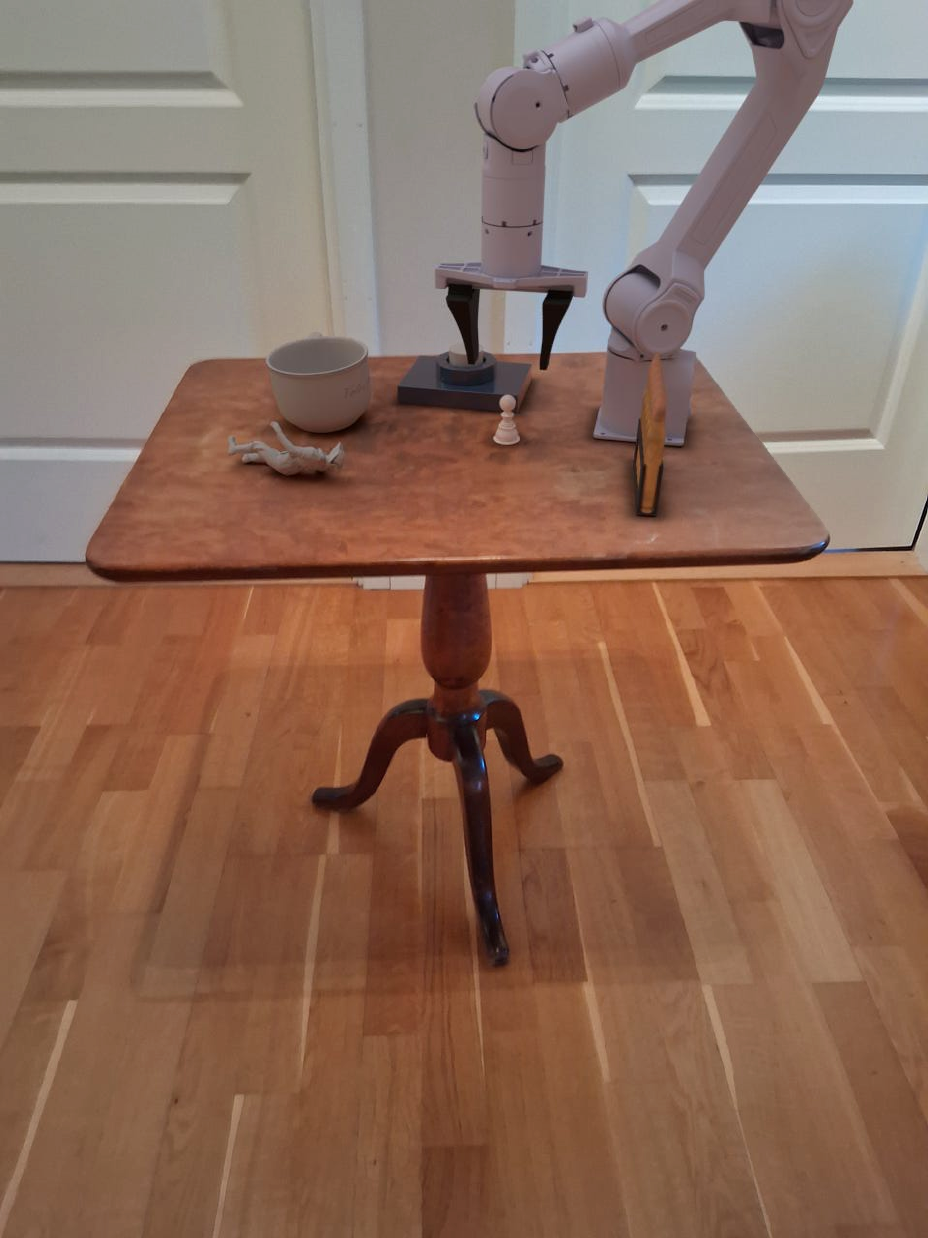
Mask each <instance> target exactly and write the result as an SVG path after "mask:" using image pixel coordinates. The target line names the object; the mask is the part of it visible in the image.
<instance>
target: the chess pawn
mask: <svg viewBox="0 0 928 1238" xmlns="http://www.w3.org/2000/svg"><path fill="white" fill-rule="evenodd" d="M499 405H500V407H501V409H502V410H504V412H500V417H502V419H501V420H500V422H499V423H498V427H497V429H496V431H495V433H494V436H493V438H492V439H493V441H494V442H495V443H497V444H498V445H501V446H513V445H516V444H517V443H519V442H520V441H521V438H520V437H521V436H520V435H519V432H518V430H517V428H516V424H515V422H514V420H513V418H514V416H515V413H512V412H511V411H512V410H513V409H514V408H515V405H516V401H515V398H514V397H513V396H511V395H504V396H503V397H502V398H501V399H500V402H499Z"/></svg>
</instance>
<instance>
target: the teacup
mask: <svg viewBox="0 0 928 1238" xmlns="http://www.w3.org/2000/svg"><path fill="white" fill-rule="evenodd" d="M265 365H266V367H267V369H268V370H267V371H268V374H269V380H270V384H271V388H272V389H271V390H272V394H273V396H274V401H275V404H276V407H277V409H278V411H279V413H280V414H281V416H282V417H283V418H284V419H285V420H286V421H287V422H289V423H290V424H292V425H294V426H295V427H297V428H299V429H300V430H303V431H305V432H309V433H317V434H321V433H323V434H326V433H333V432H338V431H342V430H344V429H346V428H349V427H350V426H352V425H353V424H354V423H356V421H357V420H358V419H359V418H360V417H361V416H362V415H363V414H364V413H365V412H366V410H367V409H368V407H369V405H370V402H371V394H372V391H371V390H372V388H371V376H370V374H371V373H370V365H369V348H368V346H367V345H366V344H365V343H364V342H362V341H361V340H359V339H356V338H352V337H347V336H340V335H338V336H336V335H326V336H325V335H323V334H322V333H321V332H318V331H316V332H310V333H309V334H308V337H306V338H301V339H296V340H292V341H290V342H289V341H288V342H286V343H284V344H282V345H280V346H278V347H276V348H274V349H273V350H272V351H270V352H269V354H267V356H266V358H265Z"/></svg>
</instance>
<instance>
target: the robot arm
mask: <svg viewBox="0 0 928 1238" xmlns="http://www.w3.org/2000/svg"><path fill="white" fill-rule="evenodd" d="M853 5H854V0H658V1H656V2H655V3H653V4H651V5H650V6H648V7H647V8H645V9H643V10H642V11H640V12H639V13H636V14H635V15H634V16H632V17H630V18H629V19H627V20H626V21H624V22H622V23H621V24H620V23H617V22H615V21H613V20H612V19H609V18H608V17H605V16H600V17H598V18H596V19H594V20H593V19H592V17H590V16H583V17H581V18H579V19H577V20H576V21H574V22H573V23H572V28H573V32H571V33H570V34H568V35H565V36H564V37H562V38H560V39H558V40H557V41H555V42H553V43H552V44H550V45H548V46H547V47H545V48H543V49H541V50H539V51H537V50H536V48H530V49H528V50H527V51H525V52H523V53H522V60H523V63H522V68H520V67H518V66H511V65H508V66H502V67H499V68H498V69H495V70H494V71H492V72H491V73H490V74H489V75H487V77H486V78H485V80H484V83H483V84H482V85H481V87H480V89H479V92H478V96H477V101H475V103H473V110H474V115H475V120H476V121H477V124H478V126H479V127H480V129H481V130H482V131H483V136H482V137H483V140H482V141H483V144H482V145H483V146H482V164H481V212H480V213H481V218H480V219H481V226H480V227H481V229H480V230H481V232H480V233H481V234H480V237H481V241H480V245H481V246H480V247H481V249H480V250H481V251H480V258H481V259H480V262H477V261H476V262H439V263H438V264H437V266H436V267H435V268H434V288H435V289H438V290H446V289H447V295H446V296H445V303H446V306H447V308H448V309H449V311H450V313H451V315H452V317H453V319H454V321H455V323H456V325H457V328H458V330H459V333H460V336H461V339H462V342H464V346H465V350H466V355H467V361H468V364H471V365H475V363H476V361H477V359H478V356H479V344H480V340H479V339H480V337H479V311H480V310H479V309H480V296H481V290H487V291H488V290H489V291H501V292H502V291H505V292H520V293H521V292H522V293H536V294H537V293H538V294H546V296H545V297H544V299H543V301H542V303H541V304H542V305H541V313H542V314H541V315H542V317H541V318H542V320H541V321H542V322H541V323H542V324H541V325H542V326H541V327H542V328H541V329H542V331H541V334H542V335H541V346H540V354H539V370H540V371H547V370H548V368H549V365H550V360H551V354H552V350H553V346H554V342H555V338H556V336H557V334H558V331H559V327H560V326H561V324H562V322H563V320H564V318H565V316H566V314H567V312H568V310H569V308H570V307H571V303H572V301H573V298H583V299H584V298H585V297H586V295H587V292H588V281H589V271H588V270H576V269H569V268H563V267H557V266H551V265H544V264H542V259H543V239H544V238H543V235H544V216H545V215H544V212H545V191H546V169H547V167H546V152H547V151H546V150H547V141H548V140H549V139H550V138H551V136H552V135H553V134H554V131H555V129H556V128H557V125H558V124H562V123H564V122H567V121H568V120H570V119H572V118H573V117H575V116H577V115H579V114H580V113H583V112H584V111H587V110H588V109H590V108H592V107H593V106H595V105H597V104H598V103H601V102H602V101H604V100H606V99H607V98H609V97H612V96H613V95H615V94H617V93H619V92H620V91H621V90H624V89H626V87H627V86H628V85H629V82H630V80H631V77H632V75H633V72H634V71H635V69H636V66H637V65H638V64H639V63H641V62H643V61H645V60H647V59H649V58H651V57H653V56H655V55H657V54H659V53H661V52H663V51H664V50H667V49H669V48H671V47H673V46H674V45H677V44H679V43H681V42H683V41H685V40H688V39H689V38H691V37H693V36H695V35H698V34H699V33H701V32H703V31H705V30H707V29H709V28H711V27H714V26H715V25H717V24H719V23H721V22H738V25H739V27H740V29H741V31H742V33H743V35H744V38H745V39H746V41H747V43H748V45H749V47H750V49H751V52H752V58H753V59H752V60H753V65H754V70H755V77H756V78H755V83H754V84H753V86H752V88H751V90H750V91H749V92H748V94H747V96H746V97H745V99H744V101H743V102H742V104H741V106H740V107H739V109H738V110H737V112H736V114H735V116H734V117H733V118H732V120H731V122H730V124H728V127H727V128H726V130H725V132H724V133H723V135H722V136H721V138H720V140H719V141H718V142H717V145H716V146H715V147H714V149H713V151H712V153H711V154H710V156H709V158H707V161H706V162H705V164H704V165H703V167H702V169H701V171H700V172H699V174H698V175H697V177H696V178H695V180H694V182H693V183H692V185H691V186H690V188H689V190H688V191H687V193H686V195H685V196H684V198H683V200H682V202H681V203H680V204H679V206H678V208H677V209H676V211H675V213H674V214H673V216H672V218H671V219H670V221H669V223H668V224H667V226H666V227H665V229H664V230H663V232H662V234H661V235H660V237H659V238H658V240H657V241H656V242H654V243H653V244H651V245H649V246H647V247H646V248H644V249H642V250H641V251H639V252H638V253H637V254H636V255H635V257H634V259H633V260H632V262H631V263H630V265H629V266H627V268H626V269H625V270H623V271H622V272H621V273H619V274H618V275H616V276H615V277H614V278H613V279H612V280H611V282H610V283H609V284H608V285H607V286H606V289H605V290H604V293H603V297H602V305H601V306H602V313H603V315H604V318H605V319H606V322H607V323H608V324H609V325H610V334H609V336H608V339H607V347H606V354H605V355H606V356H605V367H604V369H605V370H604V376H603V377H604V378H603V379H604V380H603V389H602V399H601V400H602V401H601V406H600V407H599V408H598V412H597V418H596V422H595V426H594V430H593V438H594V439H598V440H607V441H608V440H610V441H619V442H633V443H636V437H637V429H638V422H639V418H641V411H642V403H643V396H644V393H645V390H646V385H647V381H648V374H649V369H650V365H651V362H652V360H653V357H654V355H655V354H656V352H659V354H660V358H661V365H662V372H663V379H664V386H665V393H666V401H667V410H666V419H665V420H666V423H665V445H664V446H677V447H682V446H683V445H684V444H685V436H686V430H687V424H688V422H690V420H691V414H692V407H693V406H692V405H693V404H692V403H691V399H692V398H691V397H692V392H693V384H694V377H695V370H696V361H697V351H695V350H689V349H684V348H682V347H683V346H684V344H686V342H687V341H688V339H689V338H690V335H691V333H692V331H693V330H692V329H693V325H694V322H695V321H694V320H695V316H696V313H697V312H698V309H699V308H700V306H701V305H702V302H703V301H704V300H705V297H706V290H705V288H706V287H705V286H706V285H705V270H707V269H706V268H707V267H708V265H709V264H710V262H711V261H712V259H713V258H714V256H715V255H716V253H717V252H718V250H719V249H720V247H721V246H722V244H723V242H724V241H725V239H726V238H727V236H728V235H729V233H730V232H731V230H732V228H733V227H734V225H736V222H737V221H738V220H739V218H740V216H741V214H742V213H743V211H744V210H745V208H746V207H747V206H748V204H749V202H750V201H751V199H752V198H753V197H754V195H755V193H756V192H757V190H758V188H759V187H760V186H761V184H762V182H764V179H765V178H766V176H767V175H768V173H769V171H770V170H771V168H772V167H773V166H774V164H775V163H776V160H777V159H778V158H779V156H780V155H781V153H782V152H783V150H784V149H785V147H786V145H788V142H789V141H790V140H791V137H793V135H794V133H795V132H796V130H797V129H798V127H799V125H800V124H801V122H802V121H803V119H804V118H805V116H806V114H808V111H809V110H810V109H811V107H812V105H813V104H814V102H815V101H816V99H817V97H819V94H820V93H821V91H822V88H823V87H824V83H825V80H826V77H827V74H828V73H827V72H828V69H829V65H830V61H831V58H832V53H833V50H834V46H835V42H836V38H837V34H838V31H839V28H840V26H841V24H842V23H843V22H844V20H845V18H846V16H847V15H848V13H849V12H850V10H851V9H852V8H853Z"/></svg>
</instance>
